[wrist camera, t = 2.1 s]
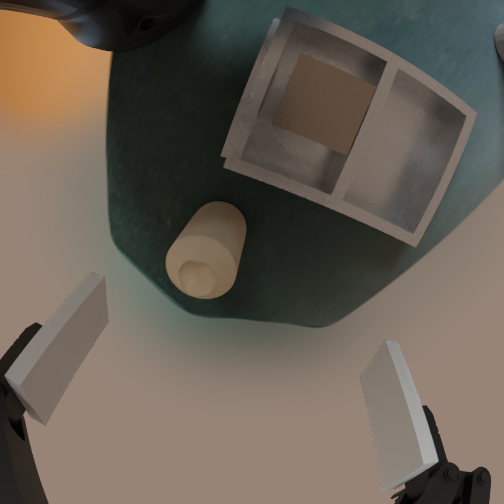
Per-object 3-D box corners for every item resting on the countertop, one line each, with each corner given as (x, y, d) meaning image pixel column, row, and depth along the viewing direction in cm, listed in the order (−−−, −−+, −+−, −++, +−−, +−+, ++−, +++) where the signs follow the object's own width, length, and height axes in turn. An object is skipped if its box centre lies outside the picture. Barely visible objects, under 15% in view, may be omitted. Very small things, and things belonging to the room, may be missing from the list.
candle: (188, 204, 28) (149, 248, 20) (242, 196, 28) (225, 240, 19) (199, 253, 31) (171, 311, 22) (250, 248, 30) (240, 308, 21)
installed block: (272, 121, 23) (271, 124, 16) (292, 71, 21) (300, 52, 14) (325, 143, 24) (346, 156, 17) (346, 94, 22) (375, 87, 14)
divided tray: (222, 154, 26) (211, 163, 22) (274, 21, 20) (274, 2, 15) (403, 230, 28) (423, 251, 23) (456, 115, 22) (484, 119, 17)
